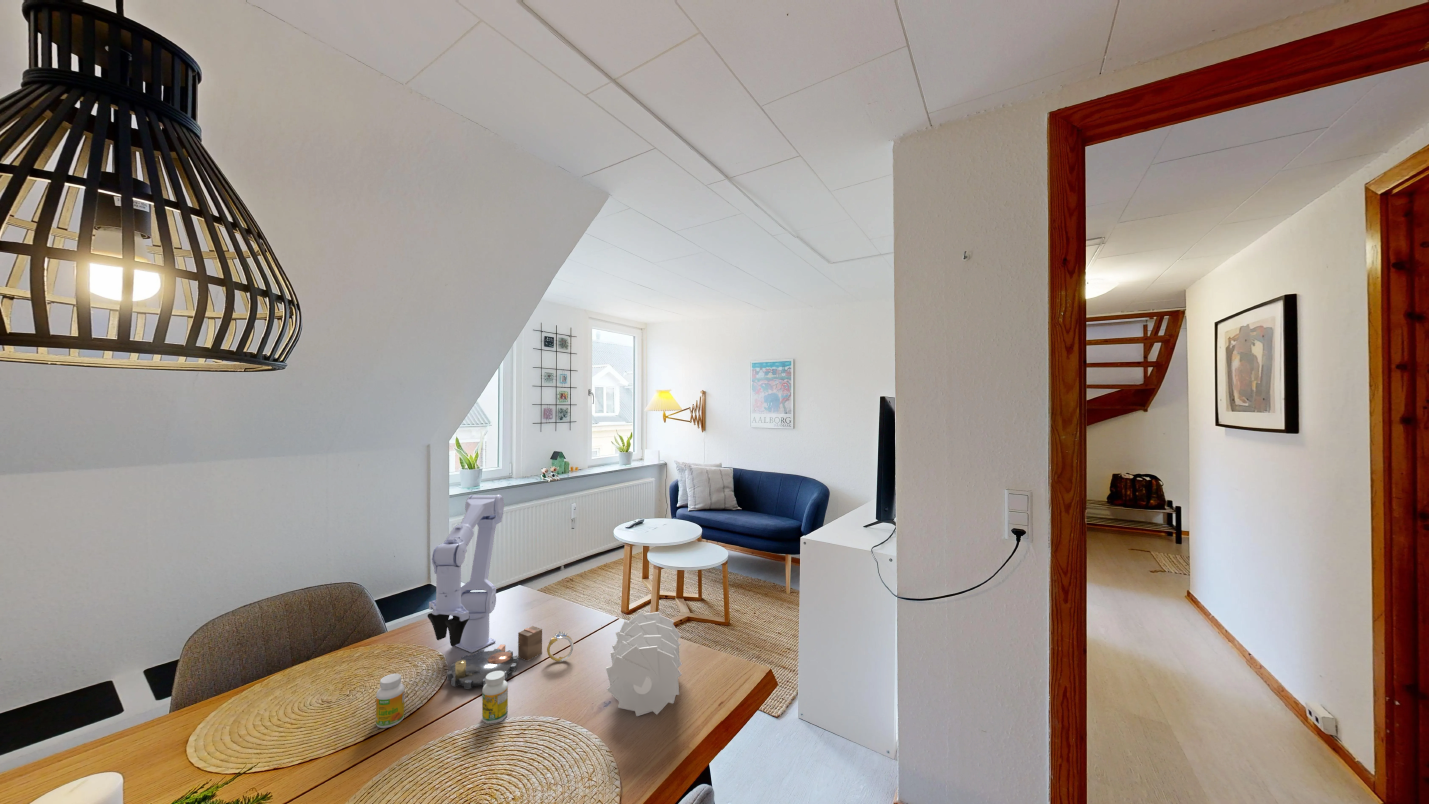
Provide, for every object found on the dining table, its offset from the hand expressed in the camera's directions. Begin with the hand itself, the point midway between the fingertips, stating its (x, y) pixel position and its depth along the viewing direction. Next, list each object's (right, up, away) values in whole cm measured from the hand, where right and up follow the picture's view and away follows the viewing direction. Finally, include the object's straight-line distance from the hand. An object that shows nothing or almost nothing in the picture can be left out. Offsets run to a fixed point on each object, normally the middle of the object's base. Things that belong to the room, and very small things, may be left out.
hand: (448, 641), depth 130 cm
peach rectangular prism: (+9, -10, +12) cm, 18 cm away
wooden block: (+17, -10, +12) cm, 23 cm away
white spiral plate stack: (+53, -10, -7) cm, 54 cm away
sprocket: (+9, -10, +2) cm, 13 cm away
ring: (+27, -10, +8) cm, 30 cm away
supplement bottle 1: (-3, -10, -18) cm, 21 cm away
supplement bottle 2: (+20, -10, -16) cm, 27 cm away
